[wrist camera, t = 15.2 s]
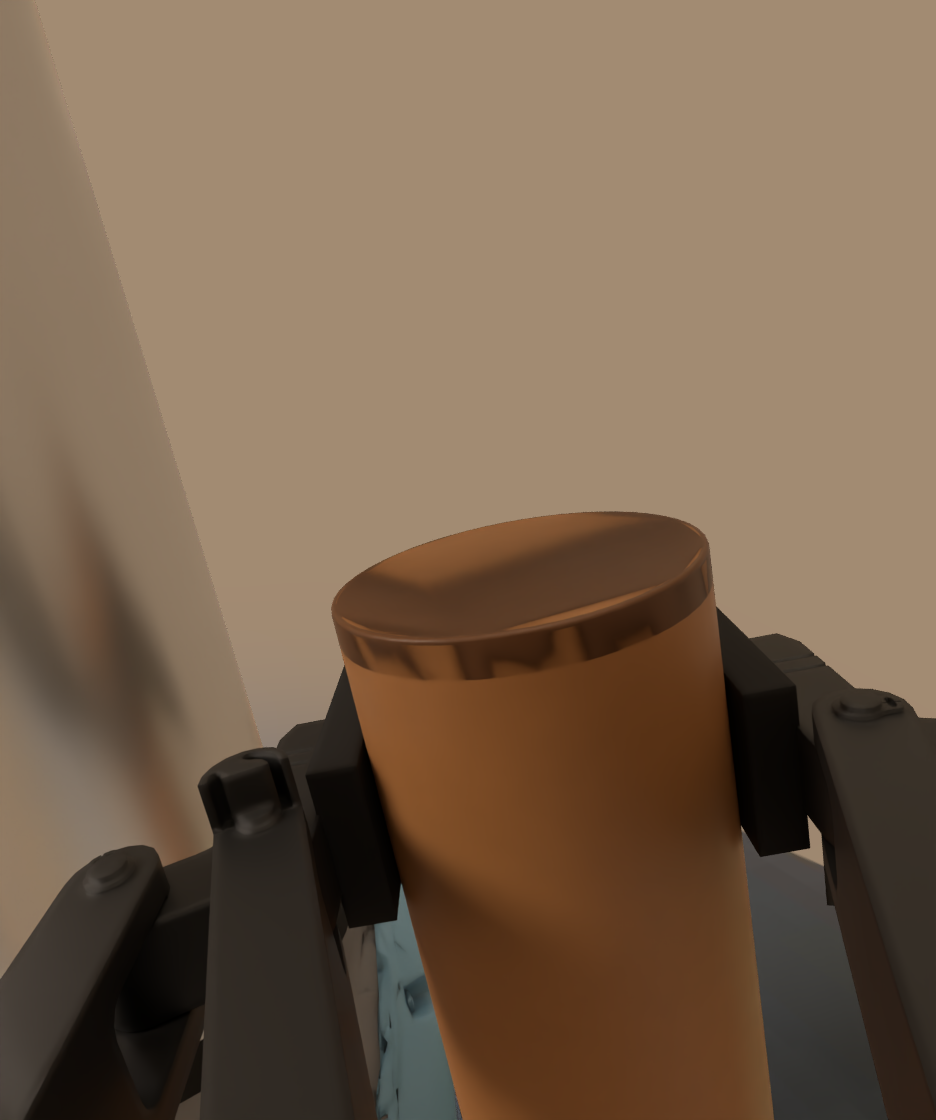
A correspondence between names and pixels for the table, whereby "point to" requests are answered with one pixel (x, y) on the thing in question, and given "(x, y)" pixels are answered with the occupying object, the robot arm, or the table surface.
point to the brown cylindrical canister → (566, 814)
